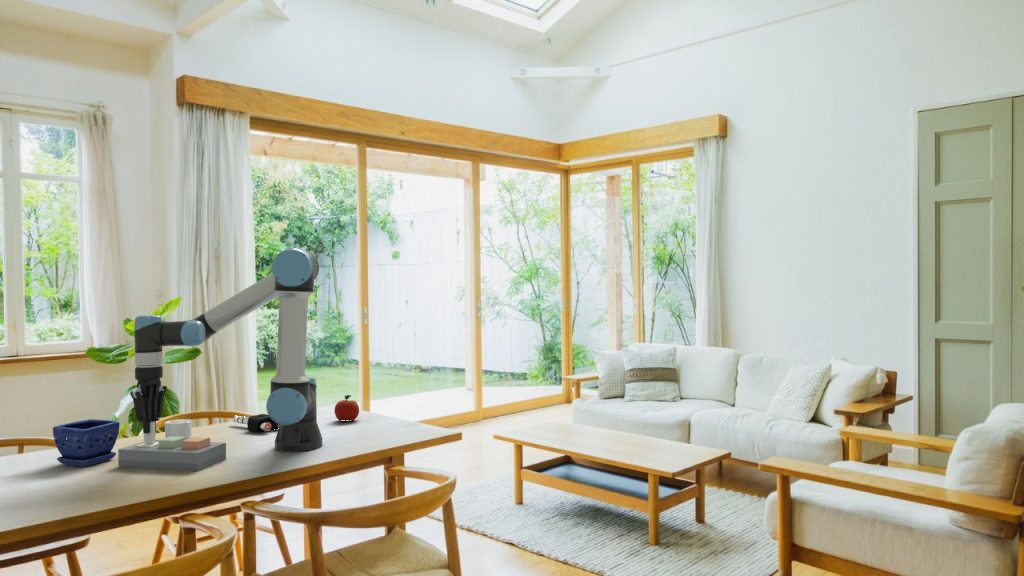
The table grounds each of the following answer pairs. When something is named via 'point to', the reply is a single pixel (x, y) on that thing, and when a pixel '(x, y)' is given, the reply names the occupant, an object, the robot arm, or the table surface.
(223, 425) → the table surface
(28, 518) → the table surface
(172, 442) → the key sage
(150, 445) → the key offwhite
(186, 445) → the key terracotta
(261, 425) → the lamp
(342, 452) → the table surface
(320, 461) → the table surface
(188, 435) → the white cup
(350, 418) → the fruit
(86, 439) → the flower pot
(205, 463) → the key panel
